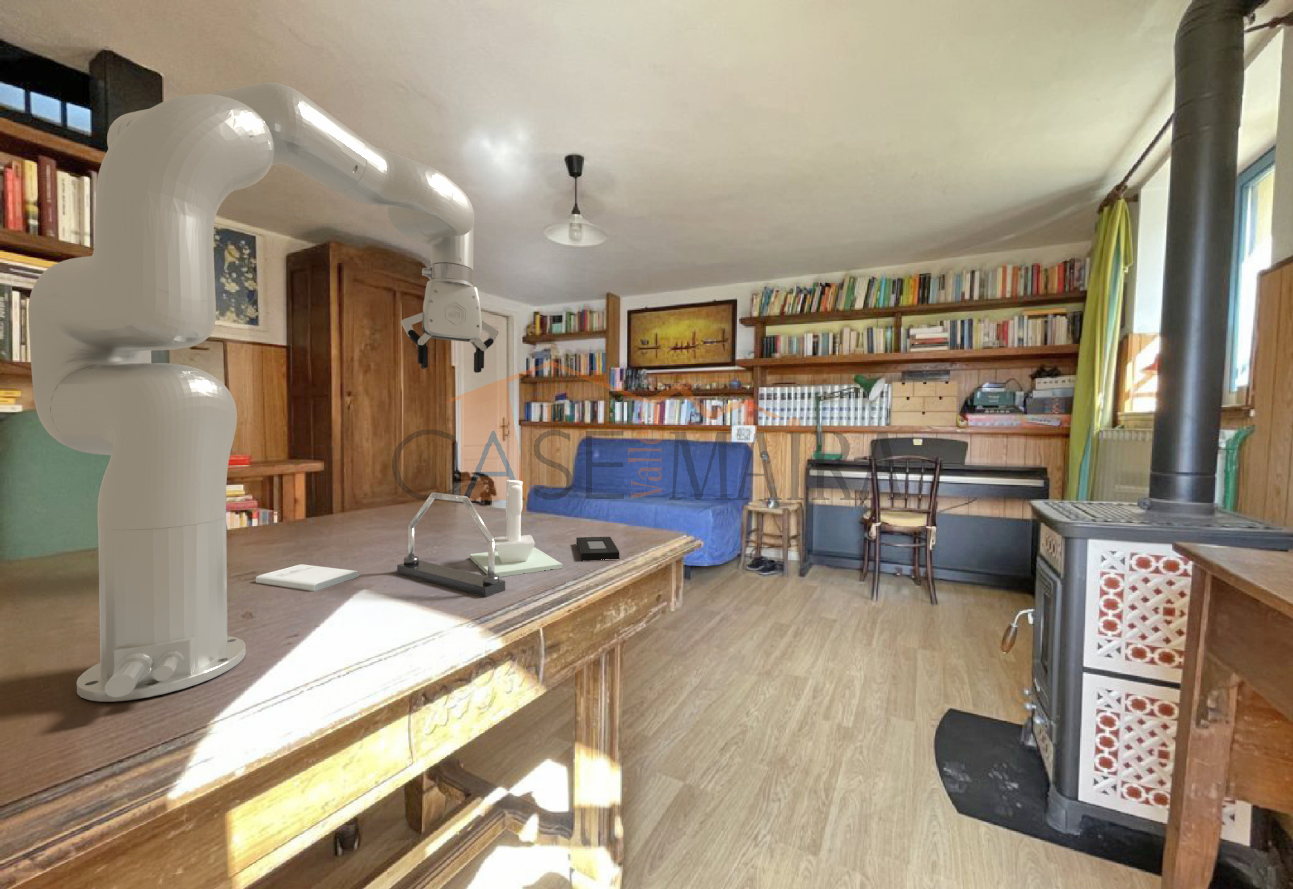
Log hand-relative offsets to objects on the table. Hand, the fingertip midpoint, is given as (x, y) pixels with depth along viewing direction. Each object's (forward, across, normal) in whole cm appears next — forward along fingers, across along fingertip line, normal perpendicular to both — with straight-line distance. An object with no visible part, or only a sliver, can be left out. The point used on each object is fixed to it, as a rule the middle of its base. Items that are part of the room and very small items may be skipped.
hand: (451, 370), depth 97 cm
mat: (+36, +10, -8) cm, 38 cm away
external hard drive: (+37, -23, -2) cm, 43 cm away
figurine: (+36, +10, -8) cm, 38 cm away
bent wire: (+36, -3, -14) cm, 39 cm away
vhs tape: (+37, +28, -7) cm, 47 cm away
